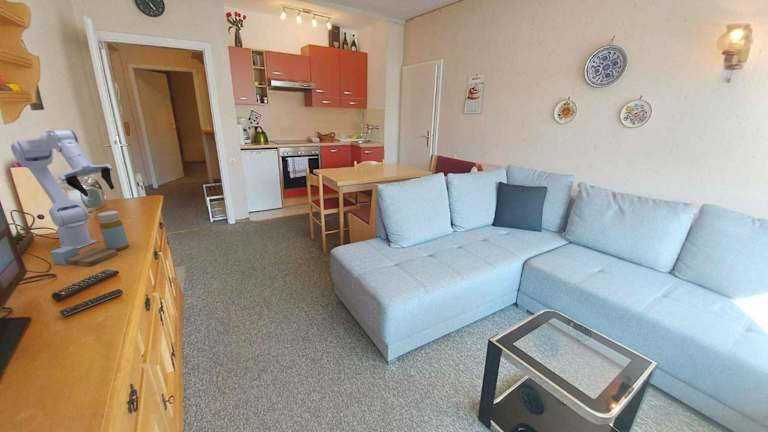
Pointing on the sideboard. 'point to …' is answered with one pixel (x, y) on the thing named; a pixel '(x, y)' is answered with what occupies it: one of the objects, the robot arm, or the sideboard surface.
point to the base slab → (92, 257)
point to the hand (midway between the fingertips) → (100, 191)
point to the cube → (64, 254)
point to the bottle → (112, 230)
